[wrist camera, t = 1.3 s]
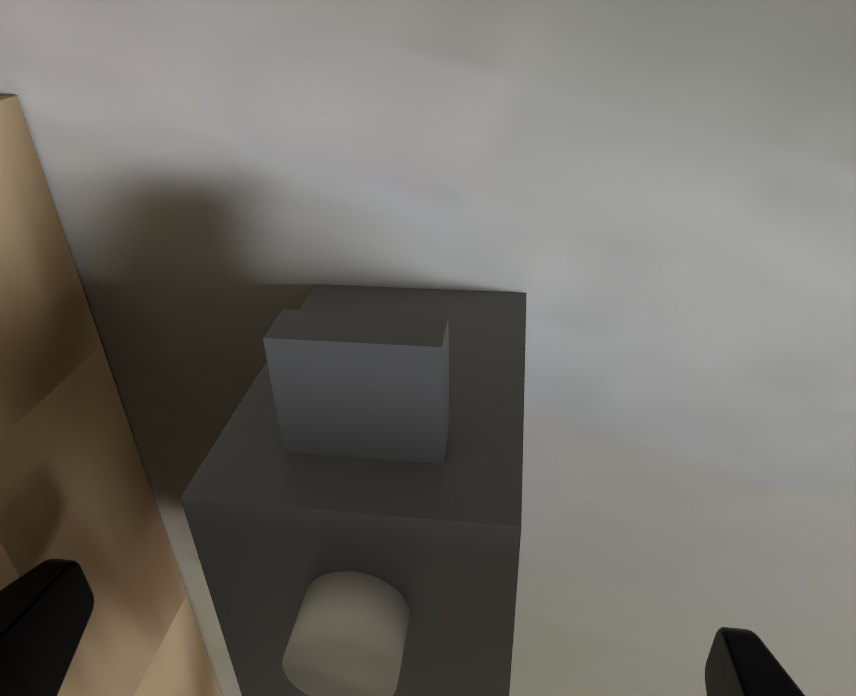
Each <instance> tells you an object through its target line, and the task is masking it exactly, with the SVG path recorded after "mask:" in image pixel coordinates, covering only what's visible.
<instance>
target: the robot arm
mask: <svg viewBox="0 0 856 696" xmlns="http://www.w3.org/2000/svg"><path fill="white" fill-rule="evenodd" d="M93 607H94V594H93V592H92V590H91V587H90V585H89V583H88V581H87V579H86V576H85V574H84V572H83V570H82V568H81V566H80V564H79V563H78V562H76V561H74V560H67V559H57V558H53V559H48V560H45V561H43V562H42V563H40V564H38V565H37V566H35V567H34V568H32V569H31V570H29V571H28V572H26V573H25V574H24V575H22V576H21V577H19V578H18V579H16V580H15V581H13V582H12V583H10V584H9V585H7V586H6V587H4V588H3V589H1V590H0V696H57V695H58V693H59V690H60V688H61V686H62V683H63V681H64V679H65V676H66V674H67V671H68V669H69V667H70V664H71V662H72V659H73V657H74V655H75V652H76V650H77V648H78V645H79V643H80V640H81V638H82V636H83V633H84V631H85V629H86V626H87V624H88V621H89V619H90V617H91V614H92V611H93ZM705 683H706V691H707V696H805V695H804V694H803V693H802V691H801V690H800V689H799V687H798V686H797V685H796V684H795V682H794V681H793V680H792V679H791V677H790V676H789V675H788V673H787V672H786V671H785V670H784V668H783V667H782V666H781V665H780V663H779V662H778V661H777V660H776V658H775V657H774V656H773V654H772V653H771V652H770V651H769V649H768V648H767V647H766V646H765V644H764V643H763V642H762V641H761V639H760V638H759V637H758V636H757V635H756V634H755V633H754V632H752V631H750V630H747V629H738V628H728V627H722V628H720V629H719V630H718V631H717V633H716V635H715V638H714V641H713V644H712V647H711V650H710V653H709V656H708V659H707V662H706V666H705Z"/></svg>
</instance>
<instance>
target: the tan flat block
mask: <svg viewBox="0 0 856 696" xmlns="http://www.w3.org/2000/svg"><path fill="white" fill-rule="evenodd" d="M53 558H57V559H67V560H74V561H76V562H78V563H79V564H80V566H81V568H82V570H83V572H84V574H85V576H86V579H87V581H88V583H89V585H90V587H91V590H92V592H93V594H94V607H93V611H92V614H91V617H90V619H89V621H88V624H87V626H86V629H85V631H84V633H83V636H82V638H81V640H80V643H79V645H78V648H77V650H76V652H75V655H74V657H73V659H72V662H71V664H70V667H69V669H68V671H67V674H66V676H65V679H64V681H63V683H62V686H61V688H60V690H59V693H58V695H57V696H222V695H221V692H220V690H219V687H218V684H217V681H216V678H215V675H214V672H213V669H212V666H211V663H210V660H209V657H208V654H207V651H206V648H205V646H204V643H203V640H202V637H201V634H200V631H199V628H198V625H197V622H196V619H195V616H194V613H193V610H192V607H191V604H190V602H189V599H188V596H187V593H186V590H185V587H184V584H183V581H182V578H181V575H180V572H179V569H178V566H177V563H176V560H175V558H174V555H173V552H172V549H171V546H170V543H169V540H168V537H167V534H166V531H165V528H164V525H163V522H162V519H161V516H160V514H159V511H158V508H157V505H156V502H155V499H154V496H153V493H152V490H151V487H150V484H149V481H148V478H147V475H146V472H145V470H144V467H143V464H142V461H141V458H140V455H139V452H138V449H137V446H136V443H135V440H134V437H133V434H132V431H131V428H130V426H129V423H128V420H127V417H126V414H125V411H124V408H123V405H122V402H121V399H120V396H119V393H118V390H117V387H116V384H115V381H114V379H113V376H112V373H111V370H110V367H109V364H108V361H107V358H106V355H105V352H104V349H103V346H102V343H101V340H100V337H99V335H98V332H97V329H96V326H95V323H94V320H93V317H92V314H91V311H90V308H89V305H88V302H87V299H86V296H85V293H84V291H83V288H82V285H81V282H80V279H79V276H78V273H77V270H76V267H75V264H74V261H73V258H72V255H71V252H70V249H69V247H68V244H67V241H66V238H65V235H64V232H63V229H62V226H61V223H60V220H59V217H58V214H57V211H56V208H55V205H54V203H53V200H52V197H51V194H50V191H49V188H48V185H47V182H46V179H45V176H44V173H43V170H42V167H41V164H40V161H39V159H38V156H37V153H36V150H35V147H34V144H33V141H32V138H31V135H30V132H29V129H28V126H27V123H26V120H25V117H24V115H23V112H22V109H21V106H20V103H19V100H18V97H17V95H0V590H1V589H3V588H4V587H6V586H7V585H9V584H10V583H12V582H13V581H15V580H16V579H18V578H19V577H21V576H22V575H24V574H25V573H26V572H28V571H29V570H31V569H32V568H34V567H35V566H37V565H38V564H40V563H42V562H43V561H45V560H48V559H53Z"/></svg>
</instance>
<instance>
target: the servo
mask: <svg viewBox="0 0 856 696" xmlns="http://www.w3.org/2000/svg"><path fill="white" fill-rule="evenodd" d="M525 332H526V293H515V292H491V291H466V290H442V289H417V288H393V287H369V286H344V285H320V284H315V285H314V286H313V288H312V289H311V291H310V293H309V294H308V296H307V297H306V299H305V300H304V302H303V304H302V305H301V307H300V308H299V310H288V309H282V310H281V312H280V313H279V315H278V316H277V318H276V319H275V321H274V322H273V324H272V325H271V327H270V328H269V329H268V331H267V332H266V334H265V335H264V337H263V342H264V347H265V353H266V358H267V361H266V362H265V364H264V366H263V367H262V369H261V370H260V372H259V373H258V375H257V377H256V378H255V380H254V381H253V383H252V385H251V386H250V388H249V389H248V391H247V393H246V394H245V396H244V397H243V399H242V400H241V402H240V404H239V405H238V407H237V408H236V410H235V412H234V413H233V415H232V416H231V418H230V420H229V421H228V423H227V424H226V426H225V427H224V429H223V431H222V432H221V434H220V435H219V437H218V439H217V440H216V442H215V443H214V445H213V447H212V448H211V450H210V451H209V453H208V454H207V456H206V458H205V459H204V461H203V462H202V464H201V466H200V467H199V469H198V470H197V472H196V474H195V475H194V477H193V478H192V480H191V481H190V483H189V485H188V486H187V488H186V489H185V491H184V493H183V494H182V496H181V497H180V498H181V501H182V505H183V508H184V511H185V514H186V517H187V521H188V524H189V527H190V530H191V533H192V537H193V540H194V543H195V546H196V550H197V553H198V556H199V559H200V562H201V566H202V569H203V572H204V575H205V578H206V582H207V585H208V588H209V591H210V594H211V598H212V601H213V604H214V607H215V610H216V614H217V617H218V620H219V623H220V626H221V630H222V633H223V636H224V639H225V643H226V646H227V649H228V652H229V655H230V659H231V662H232V665H233V668H234V671H235V675H236V678H237V681H238V684H239V687H240V691H241V694H242V696H509V688H510V674H511V660H512V647H513V633H514V619H515V605H516V591H517V577H518V563H519V550H520V536H521V511H522V466H523V421H524V377H525Z"/></svg>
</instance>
